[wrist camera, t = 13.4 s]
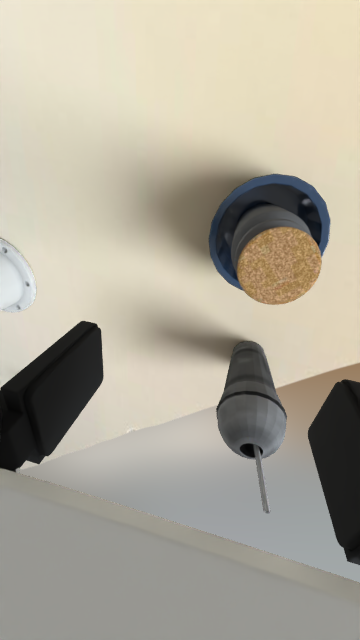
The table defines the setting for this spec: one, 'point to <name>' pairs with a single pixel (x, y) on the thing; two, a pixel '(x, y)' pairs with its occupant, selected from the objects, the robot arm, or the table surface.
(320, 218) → the desk pot
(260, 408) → the beverage cup
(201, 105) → the table surface
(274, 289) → the bottle
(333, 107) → the table surface
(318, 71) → the table surface
